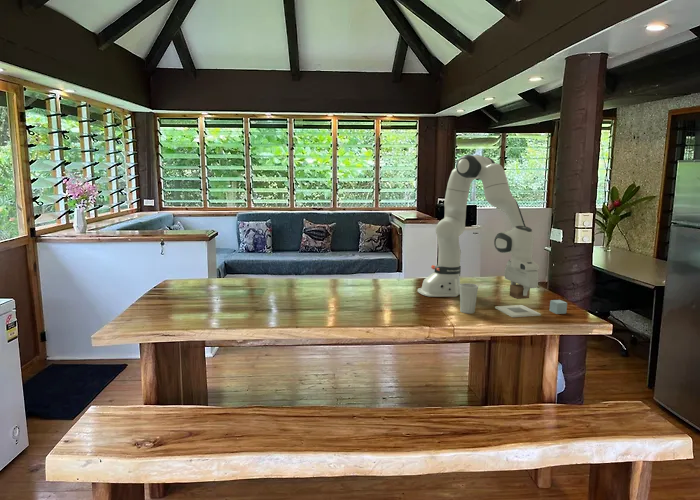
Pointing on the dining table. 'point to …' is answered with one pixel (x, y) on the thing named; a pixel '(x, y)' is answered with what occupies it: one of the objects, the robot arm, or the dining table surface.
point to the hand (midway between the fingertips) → (519, 293)
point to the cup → (468, 297)
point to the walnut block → (518, 291)
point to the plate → (517, 311)
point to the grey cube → (558, 306)
